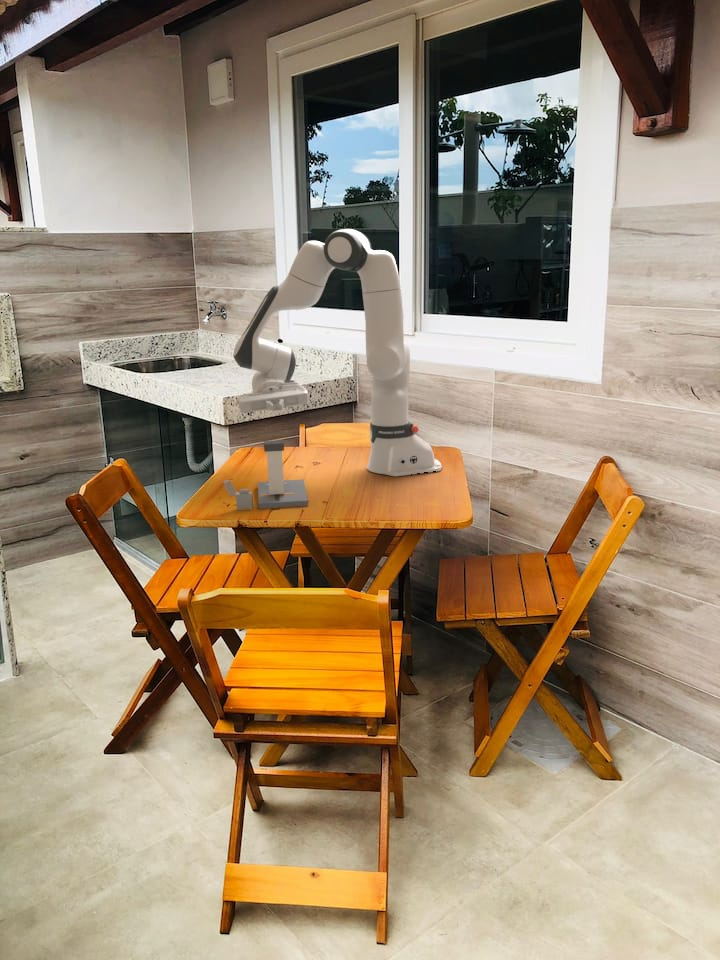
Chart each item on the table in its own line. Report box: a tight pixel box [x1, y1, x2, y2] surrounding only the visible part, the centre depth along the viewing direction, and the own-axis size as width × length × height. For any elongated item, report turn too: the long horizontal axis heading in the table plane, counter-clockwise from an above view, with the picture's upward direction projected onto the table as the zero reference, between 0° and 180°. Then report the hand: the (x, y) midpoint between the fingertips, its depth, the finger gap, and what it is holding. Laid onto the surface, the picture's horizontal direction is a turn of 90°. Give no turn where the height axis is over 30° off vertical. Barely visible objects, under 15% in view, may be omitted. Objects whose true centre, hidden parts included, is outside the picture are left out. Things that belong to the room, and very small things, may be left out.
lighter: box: [222, 479, 254, 511], centre depth 206 cm, size 7×2×8 cm, turn 92°
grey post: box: [263, 439, 285, 495], centre depth 211 cm, size 5×4×14 cm
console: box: [257, 478, 309, 510], centre depth 216 cm, size 13×20×2 cm, turn 7°
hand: (277, 408), depth 221 cm, fingers closed
